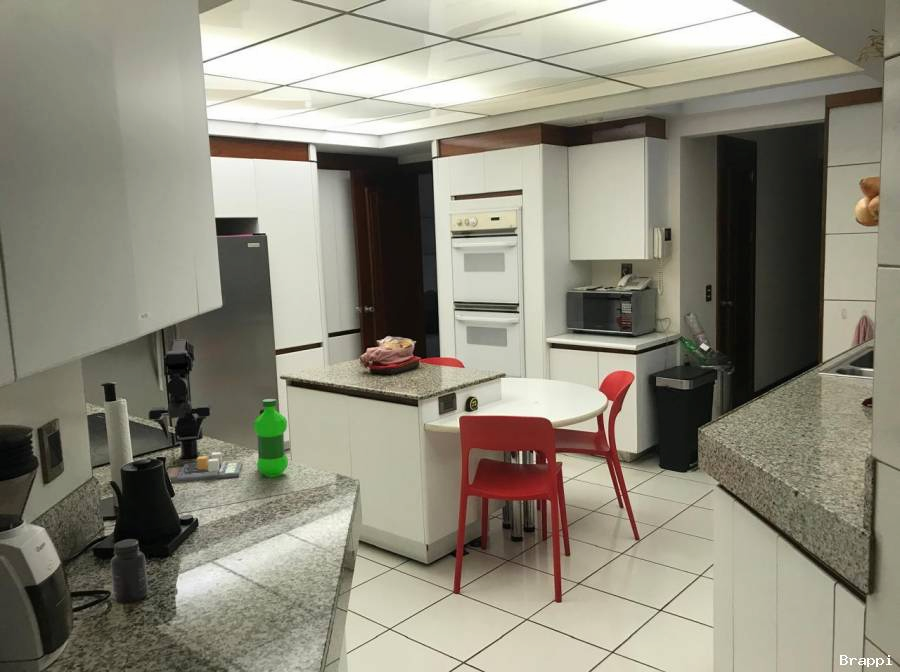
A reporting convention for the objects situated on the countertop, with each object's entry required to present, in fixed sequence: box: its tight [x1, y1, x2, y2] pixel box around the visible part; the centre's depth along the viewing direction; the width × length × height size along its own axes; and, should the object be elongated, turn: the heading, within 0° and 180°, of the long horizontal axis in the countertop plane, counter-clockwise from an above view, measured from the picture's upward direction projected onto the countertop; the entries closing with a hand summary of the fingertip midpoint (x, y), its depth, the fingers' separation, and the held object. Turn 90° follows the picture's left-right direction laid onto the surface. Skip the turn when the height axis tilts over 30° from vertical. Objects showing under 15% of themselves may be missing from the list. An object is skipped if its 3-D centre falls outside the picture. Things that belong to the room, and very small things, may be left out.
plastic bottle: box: [253, 398, 289, 478], centre depth 237 cm, size 10×10×25 cm
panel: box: [166, 460, 243, 483], centre depth 240 cm, size 13×24×2 cm, turn 101°
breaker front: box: [208, 458, 219, 473], centre depth 237 cm, size 3×3×4 cm
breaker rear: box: [210, 451, 223, 466], centre depth 245 cm, size 3×3×4 cm
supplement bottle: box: [109, 538, 149, 604], centre depth 154 cm, size 7×7×12 cm
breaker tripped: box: [196, 455, 209, 470], centre depth 240 cm, size 3×3×4 cm
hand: (182, 437), depth 235 cm, fingers open, 9 cm apart
